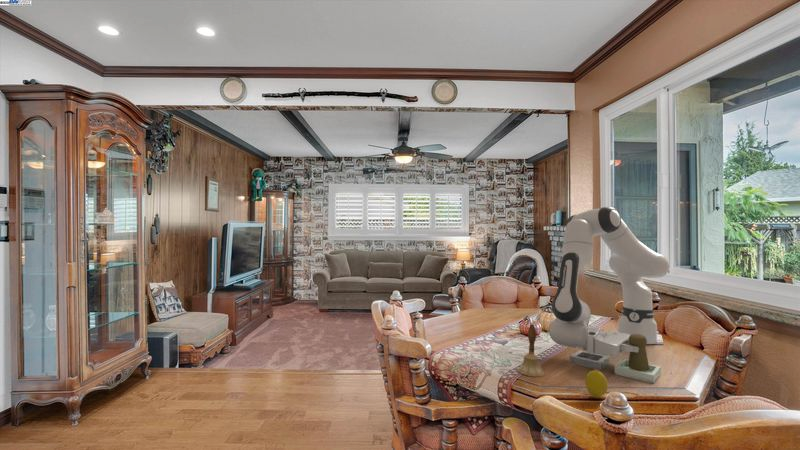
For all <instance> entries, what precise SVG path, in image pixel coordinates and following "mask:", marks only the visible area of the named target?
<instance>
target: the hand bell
mask: <svg viewBox="0 0 800 450" xmlns="http://www.w3.org/2000/svg"><path fill="white" fill-rule="evenodd" d="M527 338H528V342H529V343H528V344H529V345H528V347H529V348H528V353H527V354H525V355H524V356H523V357H524V358H523V363H522V365H521V366H520V367H519V368H518V369H517V371H519V372H518V373H519V374H521V373H522V374H521V375H523V374H524V375H523V376H526V375H527V376H528V377H531V376H532V378H540V377H543V376H545V372H544V370H542V368H541V365H540V360H539V357H538V356H537V355H536V354H535V342H536V340H537V330H536V327H535V324H532V323H531V324H530V325H529V328H528V332H527ZM527 376H526V377H527Z"/></svg>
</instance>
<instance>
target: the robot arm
mask: <svg viewBox="0 0 800 450" xmlns="http://www.w3.org/2000/svg"><path fill="white" fill-rule="evenodd" d="M621 217H622V216H621V215H620V213H619V211H618V210H617V209H616V208H614V207H611V206H605V207H601V208H592V209H589V210H587V211H583V212H580V213H578V214H577V213H576V214H573V215H571V216H569V217H568V218H567V219H566V221H565V230H564V234H563V241H562V254H561V255H562V257H561V262H560V271H559V277H558V278H559V279H558V282H557V283H558V285H557V290H556V292H555V295H554V297H553V299H552V301H551V310H552V313H553V315H554V316H555V318H554V320H552V321H551V322H550V323H549V326H548V333H549V336H550V339H551V340H552V341H553V342H554V343H556V344H559V345H560V346H561V345H562V346H564V347H568V348H573V349H576V348H578V349H580V350H581V349H582V351H587V353H588V354H595V353H596V354H600V355H606V356H610V357H618V356H619V355H620V354H621V353H623V352H627V353H630V352H639V347H638V346H634V345H633V346H631V344H630V343H629V336H630V335H632V334H640V335H643V336H645V338H646V339H647V344H646V345H664V340H663V336H662V334H660V332H659V331H658V325H657V322H656V320H655V319H654V317H655V312H654V309H653V292H652V289H650V287H648V286H647V285H646V284H645V282H644V280H643V278H646V279H657V278H663V277H665V276H666V275H667V274H668V272H669V269H670V263H669V260H668V258H667V257H666V256H665V255H663V254H660V253H658V252H656V251H654V250H653V249H651V248H649V247H648V246H647V245H645V244H644V243H643V242H641V241H640V240H639V239H638V238H637V237H636V235H634V233H633V232H632V230H631V229H630V227H629V226H628V225H627V224H626V223H625V221H624V220H623V218H621ZM598 236H600V238H601V239H602V241H603V242H604V244H605V245H606V247H608V249H609V250H610V251H611V252H612V254H611V256H610V257H609V260H608V265H609V268H610V269H611V271H612V272H613V273H615V274H616V276H617V278H618V279H619V280H618V281H619V282H620V285H621V290H622V306H621V307H622V308H621V314H622V315H621V316H619V318H618V319H617V331H607V332H606V331H605V330H604V329H603V328H602V327H598V326H592V325H589V324H590V320H591V315H592V311H591V308H590V306H589V305H588V303H586V302H584V301H583V300H582V299H580V298H579V295H578V293H577V292H578V291H577V290H578V283H579V282H578V281H579V274H580V270H581V269H584V268H586V267H588V266H589V265H590V264H591V263H592V260H593V255H594V237H598Z"/></svg>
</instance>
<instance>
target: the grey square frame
mask: <svg viewBox="0 0 800 450" xmlns="http://www.w3.org/2000/svg"><path fill="white" fill-rule="evenodd" d="M610 357H611V356H607V355H600V354H596V353H595V354H588V353H587V350H583V349H582V350H581V349H580V350H578V351H576V352H574V353H572V354H571V355H570V356H569V364H573V365H577V366H580V367H586V368H589V369H593V370H598V371H603V370H604V368H605V367H607V366H608V365H609V364H610V361H611V359H610Z"/></svg>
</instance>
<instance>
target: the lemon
mask: <svg viewBox="0 0 800 450" xmlns="http://www.w3.org/2000/svg"><path fill="white" fill-rule="evenodd" d="M585 387H586V390H587V392H588V393H589V394H590V395H592V396H593V397H594V398H595V399H598V398H599V397H602V396H604V395H605V394H606V393H607V391H608V380H607V378H606V376H605V375H604V374H603V373H602V372H601V370H597V369H593V370H591V371H589V372H588V373H587V375H586V377H585Z"/></svg>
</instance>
